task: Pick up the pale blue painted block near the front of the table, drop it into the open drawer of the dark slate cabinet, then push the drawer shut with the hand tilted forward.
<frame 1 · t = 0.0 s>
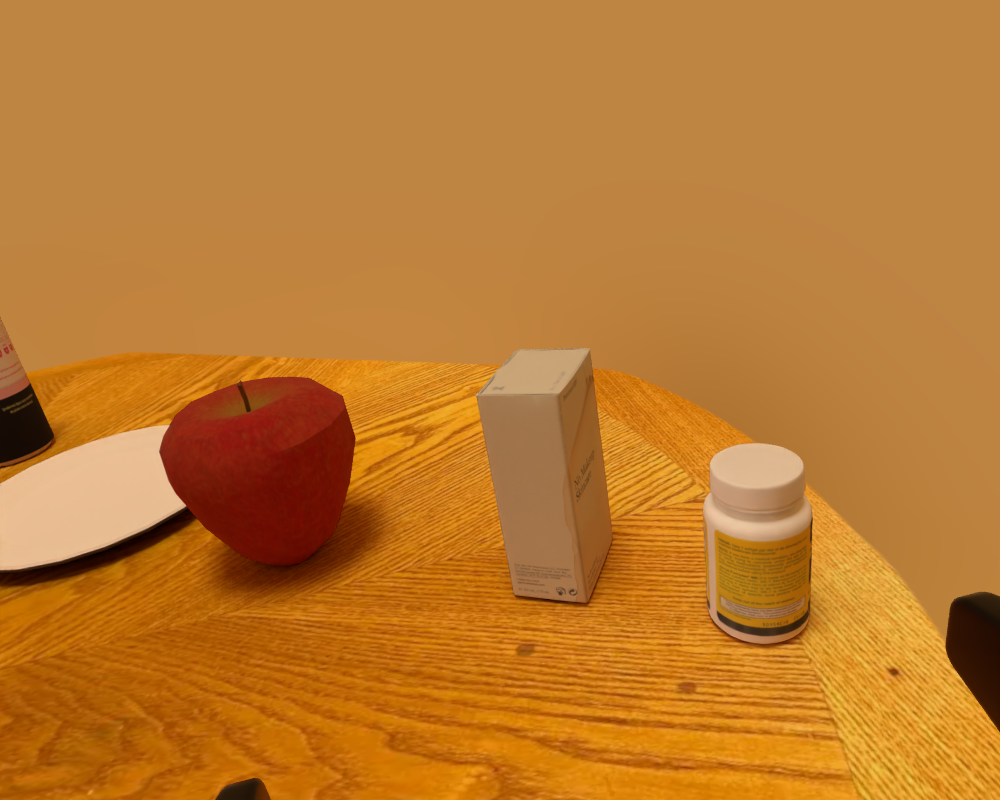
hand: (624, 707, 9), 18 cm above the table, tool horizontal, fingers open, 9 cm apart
supplement bottle: (757, 615, 36), on the table
plate: (107, 503, 57), on the table
beverage can: (19, 454, 70), on the table
apple: (296, 551, 47), on the table
cosmetic box: (564, 568, 41), on the table
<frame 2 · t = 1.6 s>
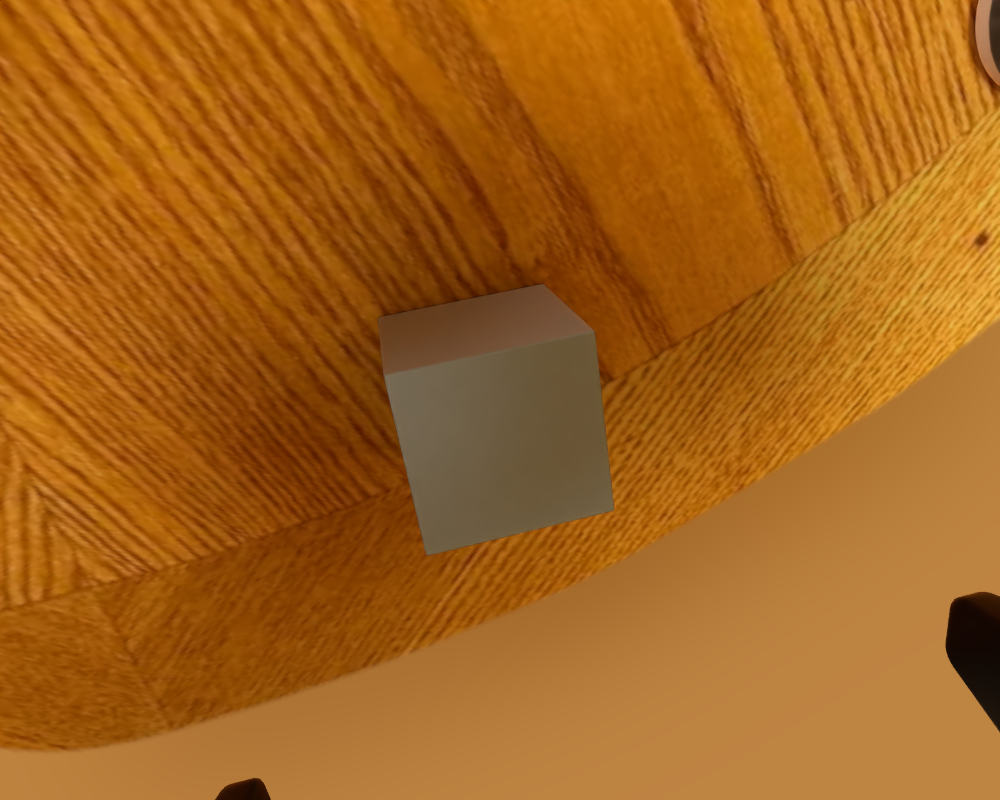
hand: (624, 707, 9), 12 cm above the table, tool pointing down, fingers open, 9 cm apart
block: (475, 378, 20), on the table
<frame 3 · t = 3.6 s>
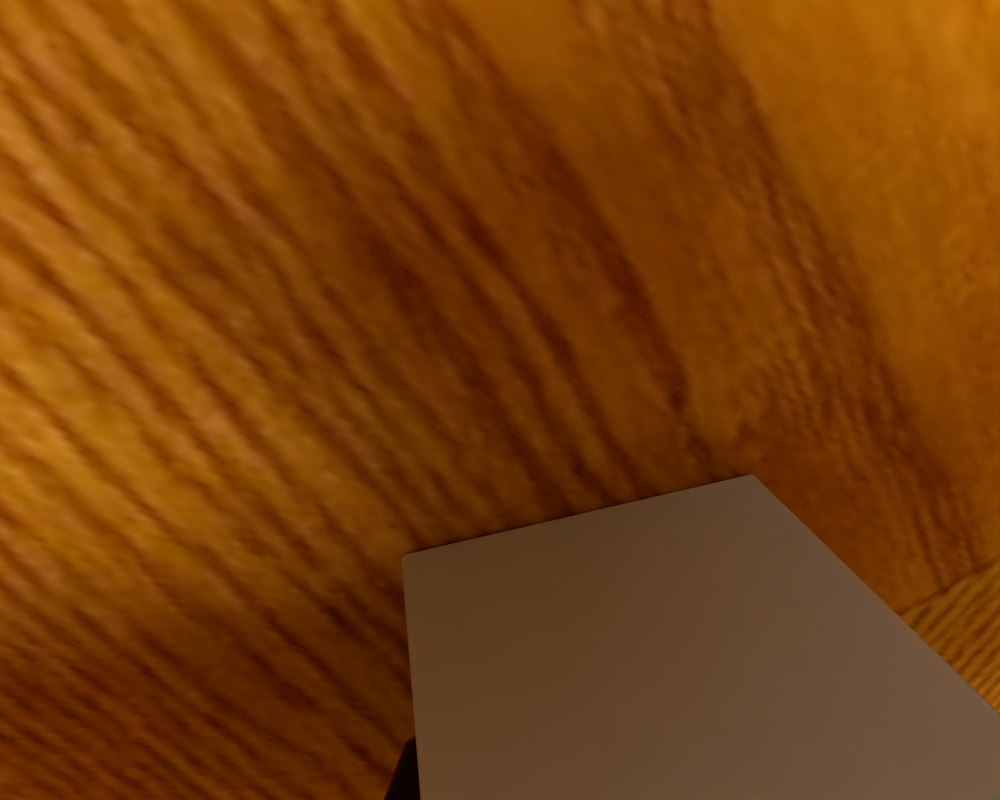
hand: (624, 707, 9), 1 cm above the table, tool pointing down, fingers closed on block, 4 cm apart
block: (598, 650, 10), on the table, touching gripper
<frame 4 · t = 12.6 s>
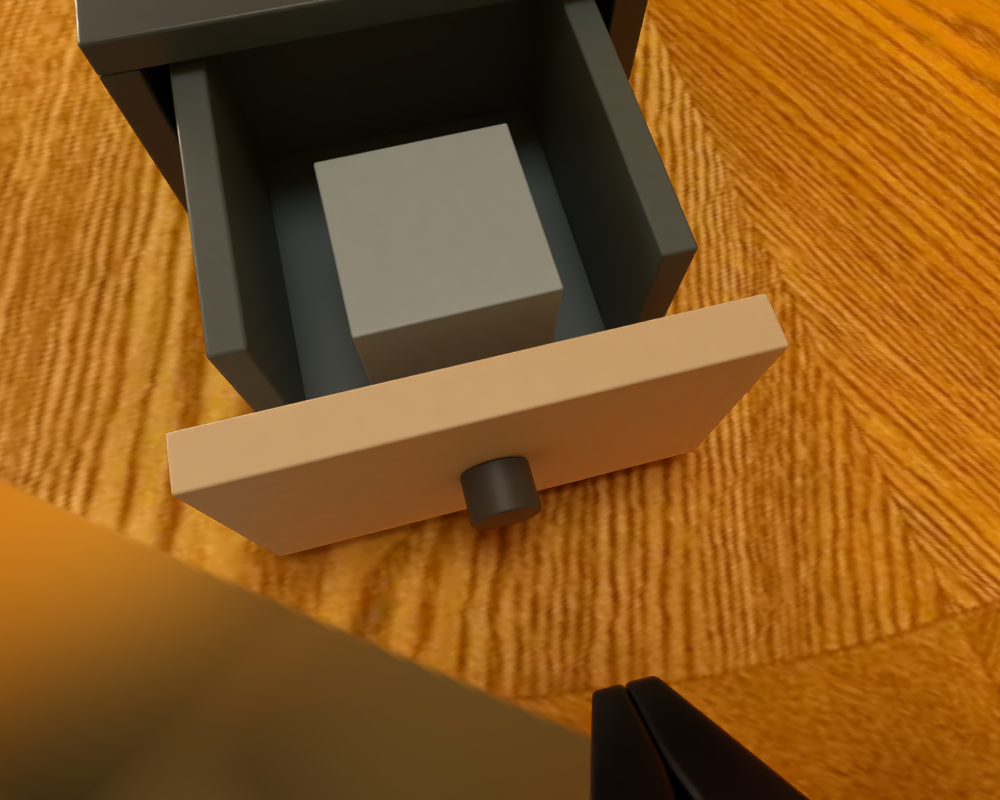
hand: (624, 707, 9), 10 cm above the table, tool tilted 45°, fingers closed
cabinet: (377, 71, 26), on the table
drawer: (437, 257, 18), point 4 cm above the table, slide at 8.5 cm, touching block
block: (445, 319, 20), point 2 cm above the table, touching drawer
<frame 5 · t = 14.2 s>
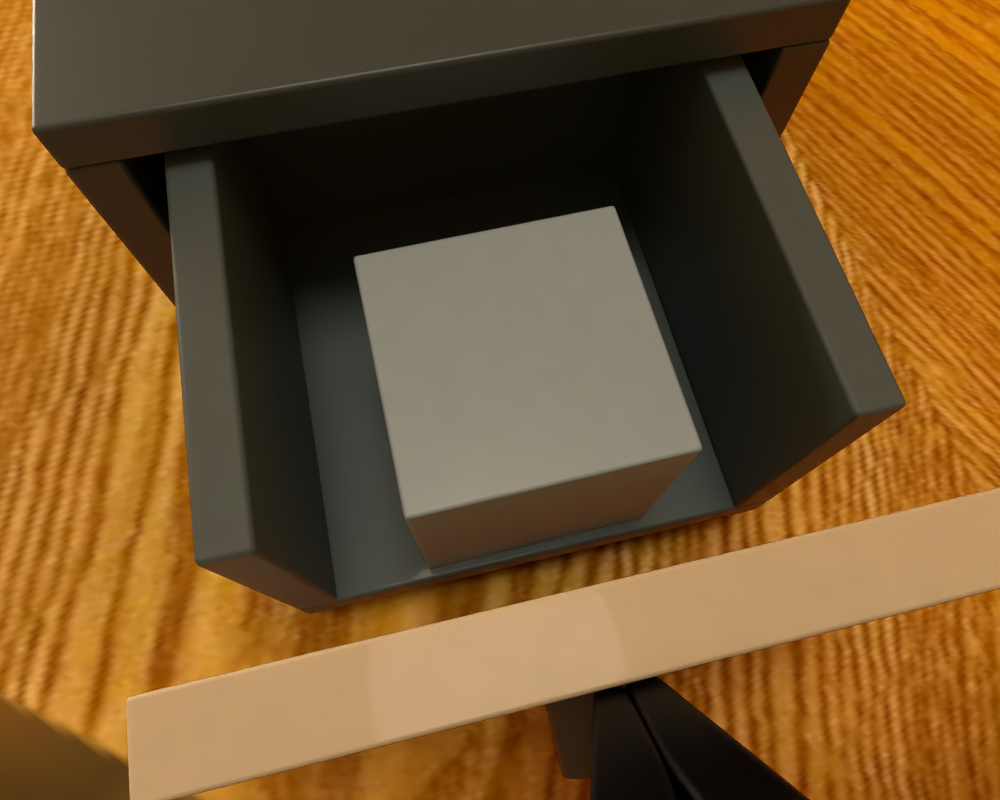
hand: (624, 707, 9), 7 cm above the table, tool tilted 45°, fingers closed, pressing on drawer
cabinet: (426, 128, 22), on the table
drawer: (509, 373, 14), point 4 cm above the table, slide at 7.8 cm, touching block, gripper
block: (511, 440, 16), point 2 cm above the table, touching drawer
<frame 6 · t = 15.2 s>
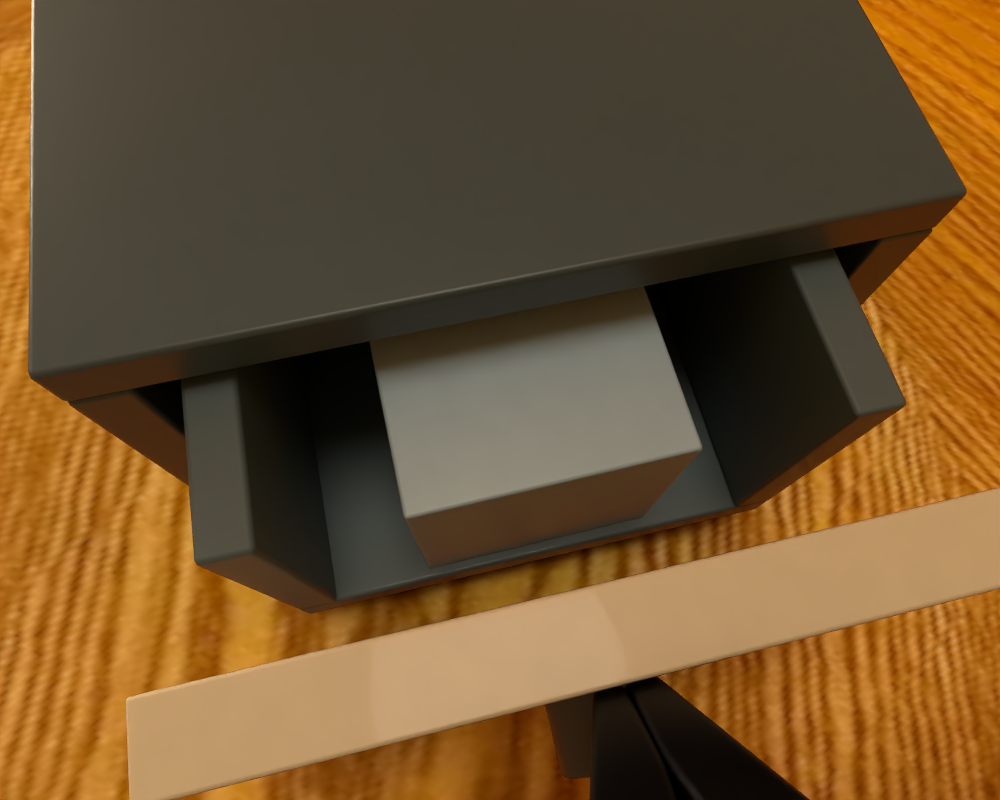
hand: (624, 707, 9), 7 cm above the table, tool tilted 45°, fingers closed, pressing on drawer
cabinet: (453, 237, 20), on the table
drawer: (509, 373, 14), point 4 cm above the table, slide at 3.9 cm, touching block, gripper
block: (511, 439, 16), point 2 cm above the table, touching drawer
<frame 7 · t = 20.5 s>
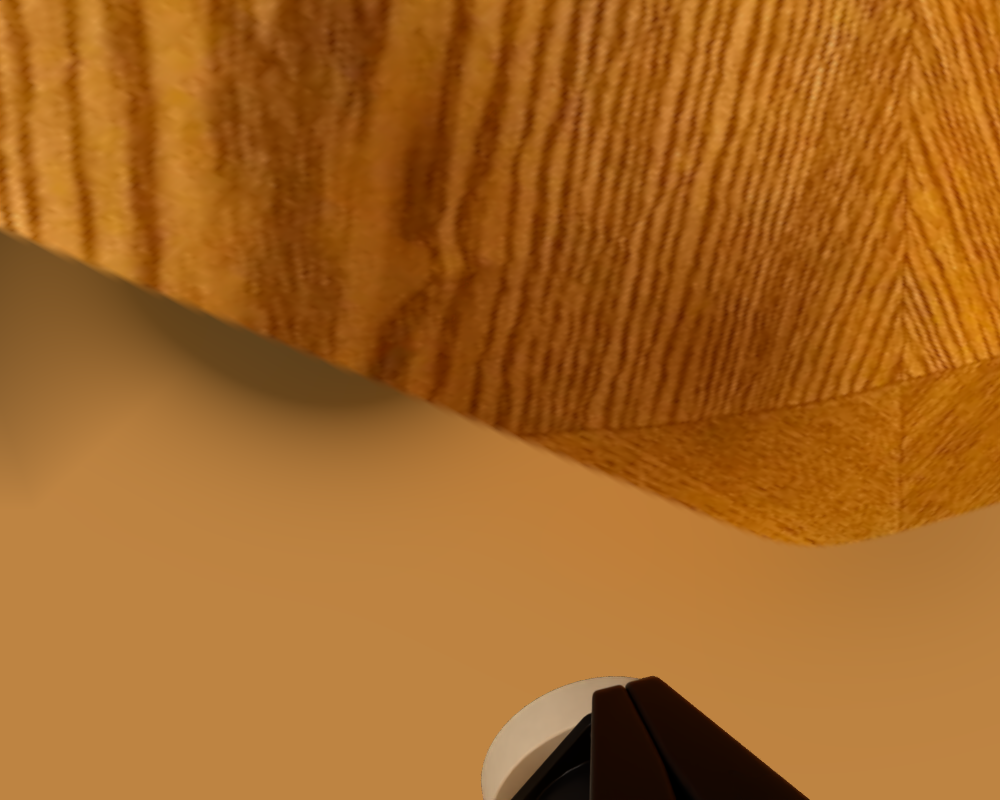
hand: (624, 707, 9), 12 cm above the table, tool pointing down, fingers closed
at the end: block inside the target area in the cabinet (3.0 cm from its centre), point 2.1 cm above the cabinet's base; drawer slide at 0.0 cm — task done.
